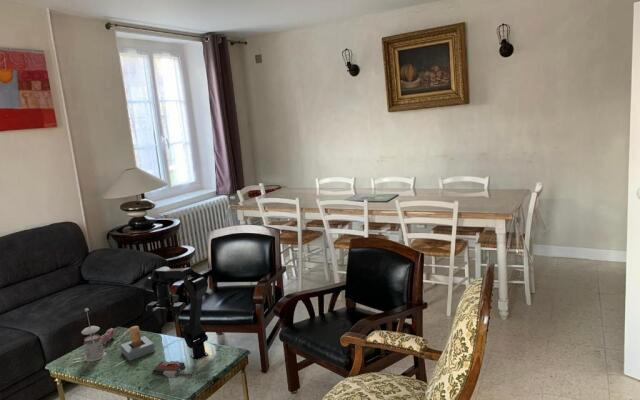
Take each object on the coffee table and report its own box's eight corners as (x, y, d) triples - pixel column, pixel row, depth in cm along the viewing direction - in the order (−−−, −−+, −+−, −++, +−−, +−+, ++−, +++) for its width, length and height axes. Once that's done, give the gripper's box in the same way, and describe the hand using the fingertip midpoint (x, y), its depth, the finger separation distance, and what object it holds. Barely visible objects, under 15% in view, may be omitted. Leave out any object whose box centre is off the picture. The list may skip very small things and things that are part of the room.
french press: (84, 363, 227) (74, 314, 223) (85, 353, 238) (75, 306, 233) (106, 357, 231) (97, 309, 227) (106, 347, 242) (97, 301, 237)
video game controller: (106, 347, 246) (110, 335, 245) (97, 344, 245) (101, 332, 244) (114, 338, 256) (118, 327, 254) (106, 335, 255) (109, 324, 254)
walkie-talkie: (150, 377, 210) (191, 379, 205) (148, 367, 209) (189, 370, 204) (161, 366, 219) (200, 368, 214) (159, 357, 218) (199, 359, 213)
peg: (141, 353, 232) (136, 329, 230) (132, 354, 232) (127, 330, 230) (144, 349, 237) (140, 325, 234) (135, 349, 237) (131, 326, 234)
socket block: (154, 351, 233) (153, 343, 233) (129, 360, 226) (128, 352, 225) (146, 343, 243) (144, 335, 242) (121, 352, 235) (120, 344, 235)
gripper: (189, 287, 235) (193, 316, 237) (156, 286, 240) (161, 315, 243) (177, 296, 224) (181, 326, 227) (143, 295, 229) (148, 325, 232)
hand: (168, 323), depth 233 cm, fingers open, 9 cm apart
